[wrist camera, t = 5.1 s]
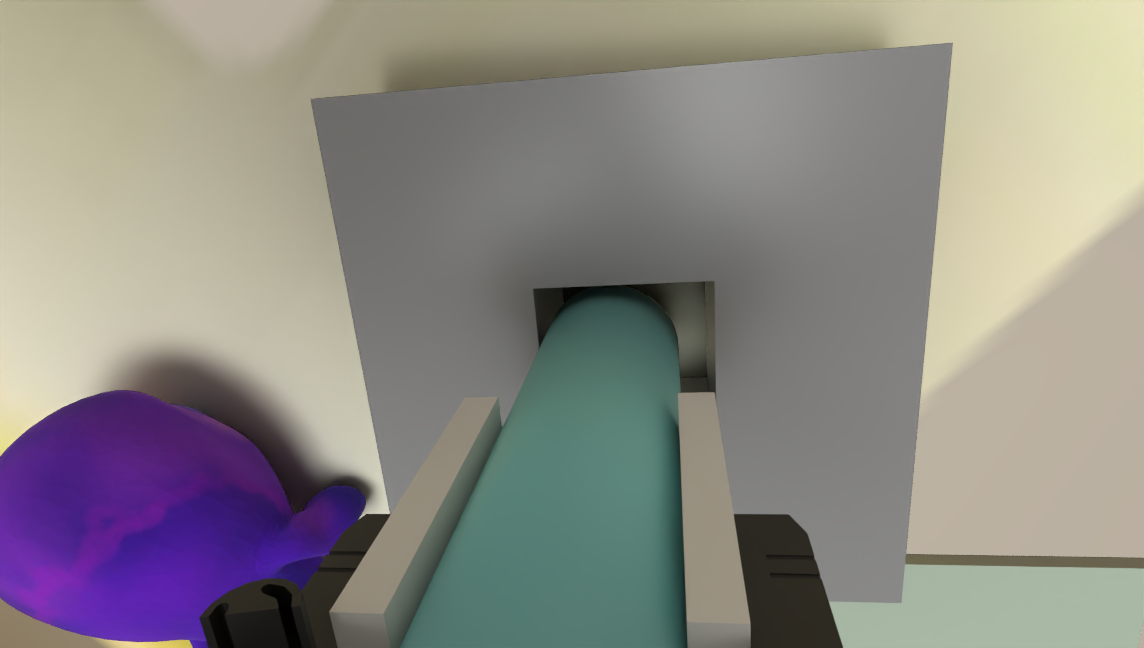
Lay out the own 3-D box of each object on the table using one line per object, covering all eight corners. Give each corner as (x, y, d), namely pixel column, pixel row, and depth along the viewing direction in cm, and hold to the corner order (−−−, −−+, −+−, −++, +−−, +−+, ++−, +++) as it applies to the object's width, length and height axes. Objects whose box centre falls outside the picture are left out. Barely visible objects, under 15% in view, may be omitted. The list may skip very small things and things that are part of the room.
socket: (383, 96, 23) (310, 98, 18) (887, 51, 21) (952, 42, 16) (448, 506, 28) (404, 590, 23) (858, 508, 26) (901, 603, 21)
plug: (541, 288, 21) (323, 654, 7) (676, 282, 20) (697, 667, 7) (553, 408, 22) (386, 900, 9) (680, 405, 21) (705, 928, 8)
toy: (455, 529, 30) (150, 312, 26) (392, 741, 21) (-79, 458, 18) (343, 632, 33) (55, 448, 29) (247, 857, 24) (-184, 633, 20)
